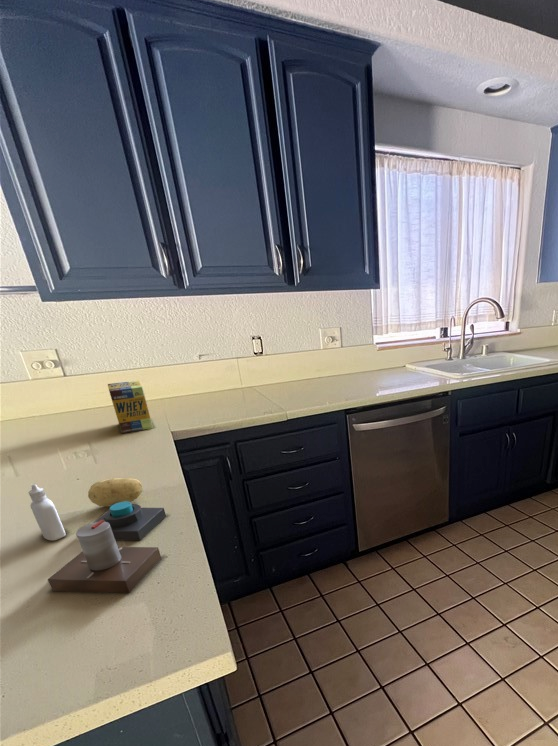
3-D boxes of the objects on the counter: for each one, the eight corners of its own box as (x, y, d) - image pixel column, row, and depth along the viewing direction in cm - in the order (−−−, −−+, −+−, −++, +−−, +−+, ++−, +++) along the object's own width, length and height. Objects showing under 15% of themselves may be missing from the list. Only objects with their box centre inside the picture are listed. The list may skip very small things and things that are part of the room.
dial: (109, 571, 74) (95, 535, 71) (82, 570, 74) (67, 534, 71) (127, 554, 78) (115, 520, 75) (102, 553, 79) (89, 519, 76)
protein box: (121, 433, 153) (108, 391, 147) (119, 423, 165) (107, 383, 159) (153, 428, 158) (142, 386, 152) (149, 418, 170) (138, 379, 164)
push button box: (85, 539, 88) (78, 523, 87) (116, 515, 97) (110, 500, 96) (140, 540, 87) (134, 523, 86) (166, 516, 96) (161, 500, 95)
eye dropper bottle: (68, 526, 93) (48, 477, 88) (65, 538, 89) (44, 487, 84) (44, 532, 92) (22, 481, 87) (40, 544, 87) (16, 492, 82)
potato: (96, 501, 104) (88, 478, 101) (147, 493, 108) (140, 470, 105) (90, 514, 98) (81, 489, 96) (144, 504, 102) (136, 480, 99)
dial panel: (52, 591, 73) (46, 578, 72) (92, 557, 82) (88, 545, 81) (129, 592, 72) (125, 580, 71) (161, 558, 81) (158, 546, 80)
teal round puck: (107, 517, 89) (105, 510, 88) (119, 508, 93) (117, 501, 92) (125, 517, 89) (123, 510, 88) (137, 508, 92) (135, 501, 92)
